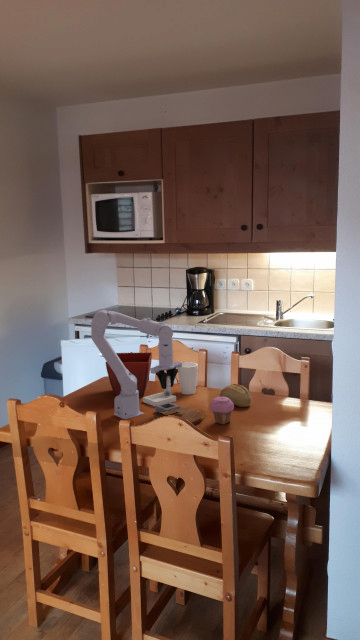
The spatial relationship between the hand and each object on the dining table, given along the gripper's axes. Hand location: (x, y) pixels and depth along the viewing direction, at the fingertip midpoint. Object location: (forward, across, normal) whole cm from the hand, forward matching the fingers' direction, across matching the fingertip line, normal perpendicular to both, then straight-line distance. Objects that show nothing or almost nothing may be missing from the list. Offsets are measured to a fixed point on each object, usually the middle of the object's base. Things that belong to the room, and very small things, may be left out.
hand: (167, 387), depth 205 cm
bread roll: (+11, +28, -11) cm, 32 cm away
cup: (+10, 0, 0) cm, 10 cm away
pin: (+3, 0, 0) cm, 3 cm away
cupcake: (+11, +8, -23) cm, 27 cm away
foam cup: (+11, +24, +15) cm, 30 cm away
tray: (+10, +6, +13) cm, 17 cm away
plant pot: (+10, +4, +33) cm, 35 cm away
